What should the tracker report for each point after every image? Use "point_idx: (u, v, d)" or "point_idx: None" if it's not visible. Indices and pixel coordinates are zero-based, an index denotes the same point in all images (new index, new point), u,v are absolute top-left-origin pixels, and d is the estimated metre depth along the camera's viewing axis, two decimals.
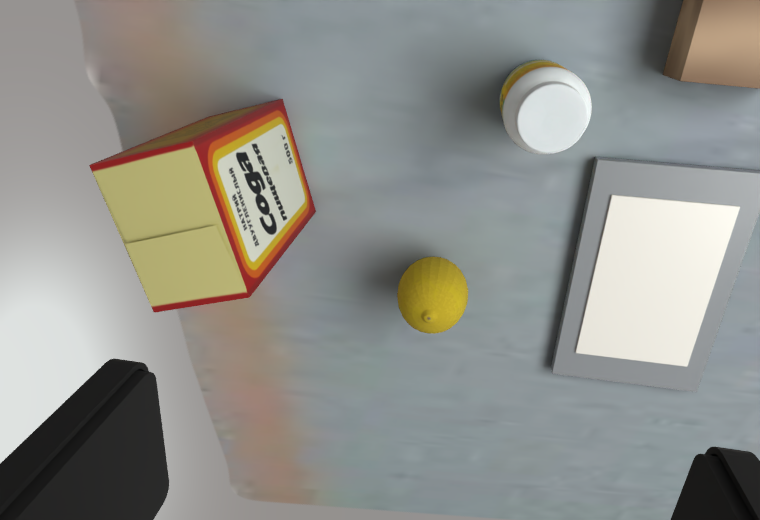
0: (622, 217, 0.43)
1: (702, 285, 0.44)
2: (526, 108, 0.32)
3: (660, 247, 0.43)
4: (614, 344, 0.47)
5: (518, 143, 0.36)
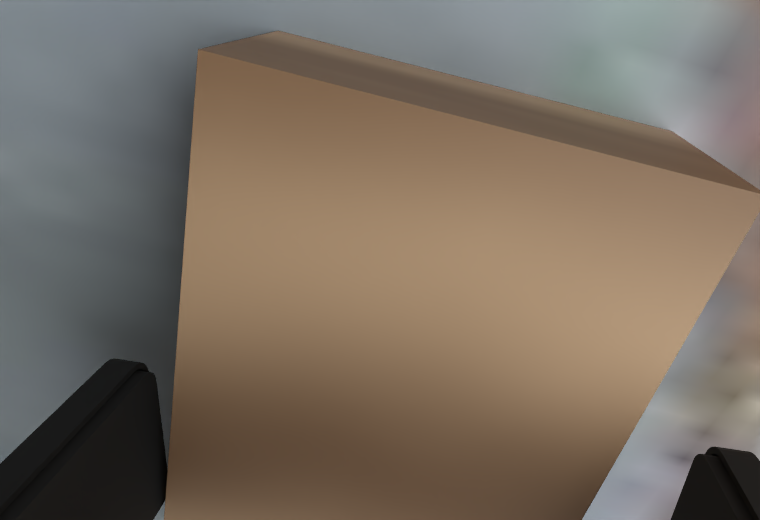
0: None
1: None
2: None
3: None
4: None
5: None
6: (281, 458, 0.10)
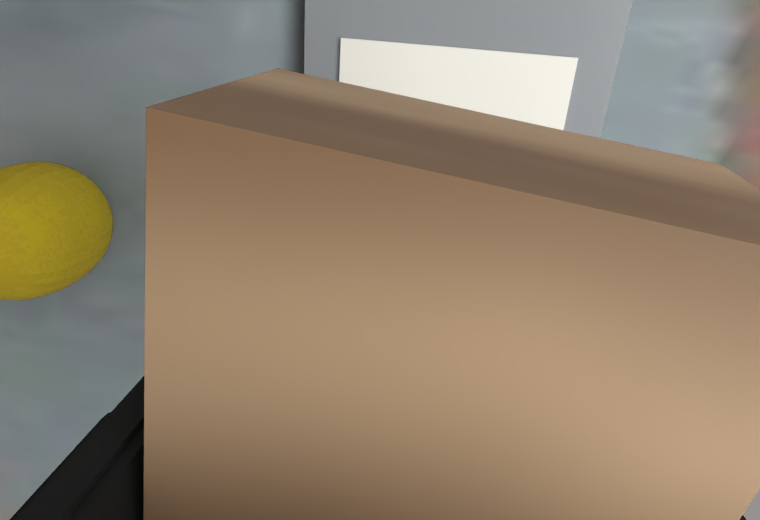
0: (366, 84, 0.22)
1: None
2: None
3: None
4: None
5: None
6: None
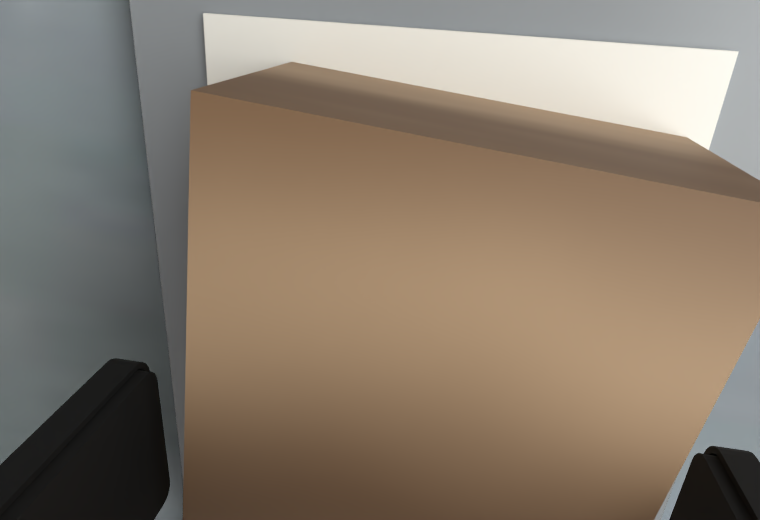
0: None
1: None
2: None
3: None
4: None
5: None
6: (299, 510, 0.09)
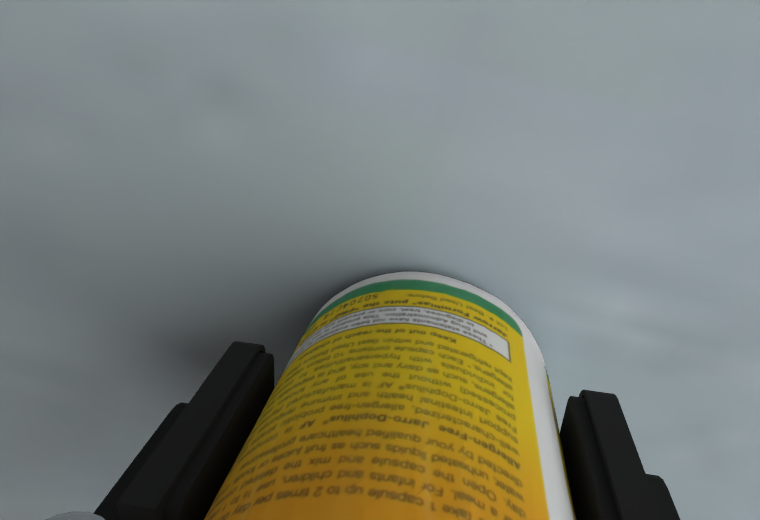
0: None
1: None
2: None
3: None
4: None
5: None
6: None
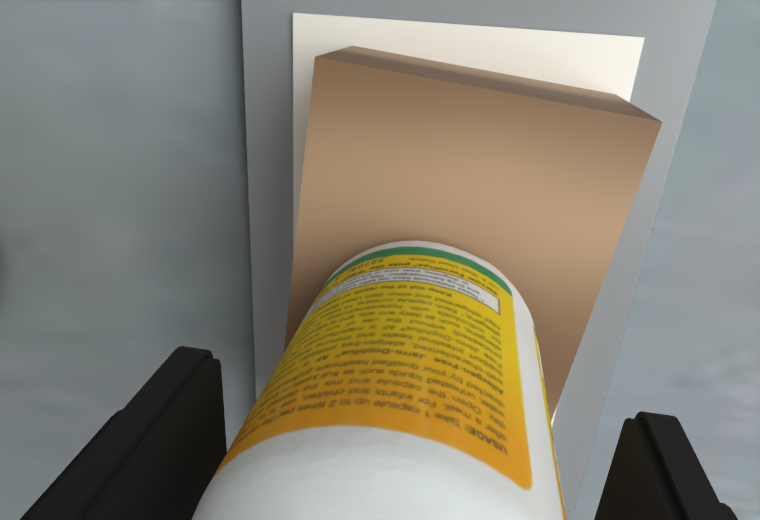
0: None
1: None
2: None
3: None
4: None
5: None
6: None
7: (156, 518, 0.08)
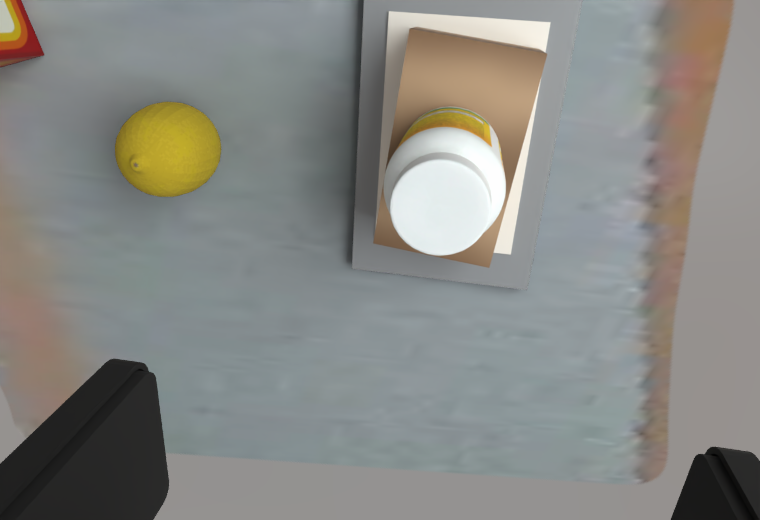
0: (405, 43, 0.33)
1: None
2: (402, 192, 0.22)
3: None
4: None
5: None
6: None
7: None
